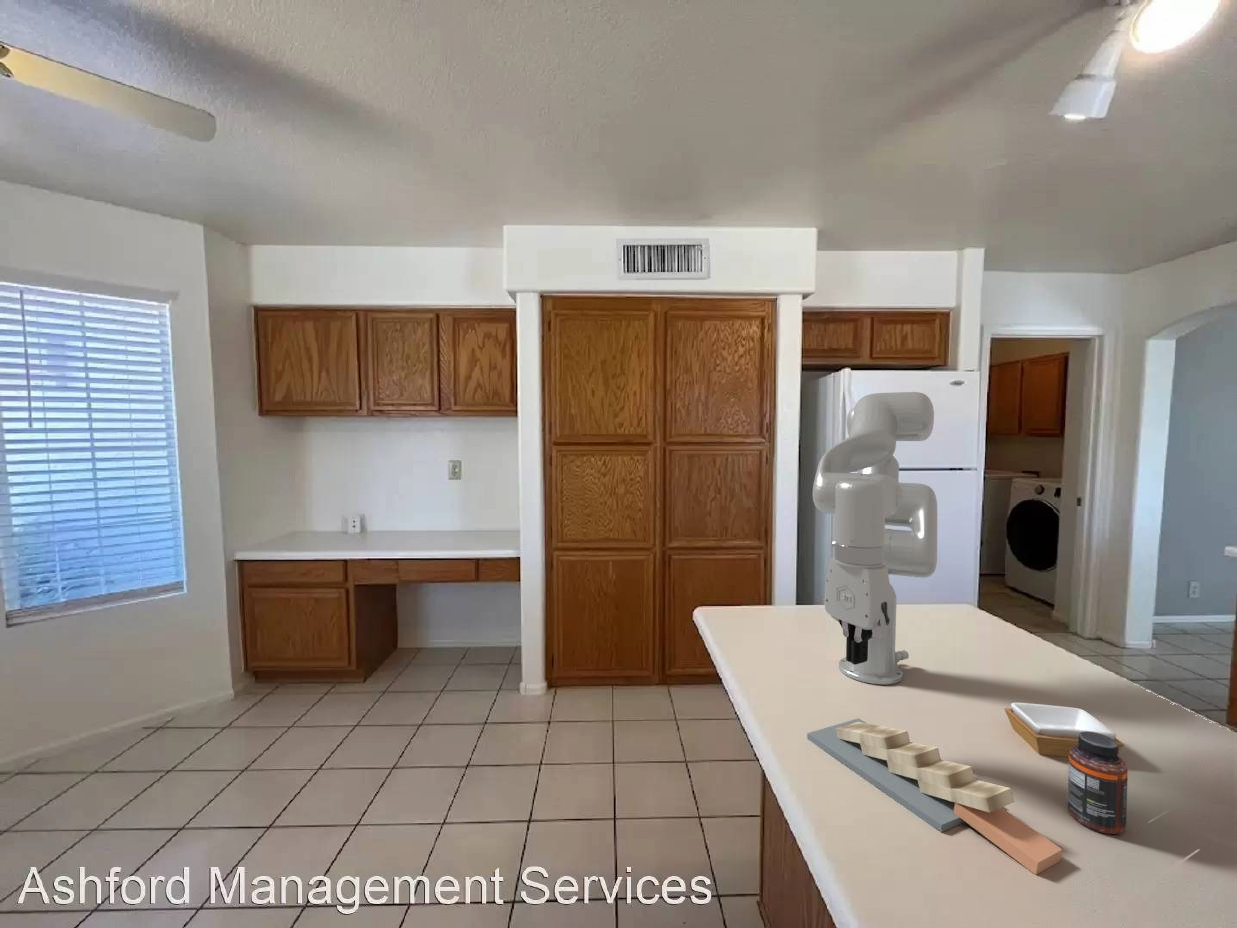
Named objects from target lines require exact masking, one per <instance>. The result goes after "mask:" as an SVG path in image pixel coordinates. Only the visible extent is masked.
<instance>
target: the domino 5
mask: <svg viewBox="0 0 1237 928" xmlns="http://www.w3.org/2000/svg"><path fill="white" fill-rule="evenodd" d="M954 813H955V814H956V815H957V816H959V817H960V818H961V819H963V820H964V821H965V822H964V823H966V824H968V825H969V826H971V828H973V829H974V830H976V831H977V832H979V834H981V835H982V836H984V837H985V838H986V839H987V840H989V841H990V842H991V843H992V844H994V845H996V846H997V847H998V848H1000V849H1001V850H1002V851H1003V852H1005V853H1006V854H1008V855H1009V856H1010V857H1012V858H1013V859H1014V860H1015V861H1016V862H1018V863H1019V864H1021V865H1022V866H1023V867H1025V868H1026V869H1027V870H1028V871H1030V872H1031V873H1033V874H1034V875H1035V876H1037V875H1038V874H1040V873H1041V872H1043V871H1045V870H1048V869H1049V868H1051V867H1052V866H1054V865H1056V864H1058V863H1059V862H1060V861H1061V858H1062V853H1063V849H1062V848H1061V847H1059V846H1058V845H1056V844H1055V843H1053V842H1052V841H1051V840H1049V839H1048V838H1046V837H1045V836H1044V835H1042V834H1040V833H1039V832H1038V831H1037V830H1035V829H1033V828H1032V827H1031V826H1029V825H1028V824H1026V823H1025V822H1023V820H1020V819H1019V818H1018V817H1016V816H1014V815H1013V814H1011V813H1010V812H1009V811H1007V810H1006V809H1004V807H1002V808H1000V809H997V810H995V811H993V812H990V813H989V812H986V811H982V810H979V809H976V808H972V807H969V806H965V805H962V804H959V803H955V806H954Z"/></svg>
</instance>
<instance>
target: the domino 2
mask: <svg viewBox="0 0 1237 928" xmlns="http://www.w3.org/2000/svg"><path fill="white" fill-rule="evenodd" d="M860 745H861V749H862V754H863V755H867V756H871V757H875V758H879V759H883V760H887V761H891V762H895V763H900V764H904V765H908V766H912V767H916V768H919V767H922V766H924V765H927V764H930V763H933V762H935V761H938V760H942V758H941V755H940V750H939V747H937V746H933V745H926V744H922V743H918V742H912V741H910V742H909V743H906V744H903V745H899V746H896V747H893V748H890V749H882V748H878V747H874V746H869V745H865V744H860Z"/></svg>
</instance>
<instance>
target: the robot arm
mask: <svg viewBox="0 0 1237 928" xmlns="http://www.w3.org/2000/svg"><path fill="white" fill-rule="evenodd" d="M934 419H935V410H934V405H933V402H932V400H931V399H930V397H929V396H928V395H927V394H925V393H924V392H919V391H905V392H903V391H901V392H899V391H898V392H875V393H870V394H866V395H864V396H863V397H861V398H860V399H859V400H858V401H857V402H856V404H855V406H854V407H853V408H851V409H850V410H849V411H848V413H847V417H846V427H847V434H848V435H847V436H848V437H847V438H844V439H842V440H840V441H839V442H838V443H836V444H835V445H834V446H833V447H831V448H830V449H828V450H827V451H826V452H825V453H824V454H823V455H822V457H821V458H820V460H819V462H818V465H817V469H816V472H815V477H814V481H813V486H812V501H813V504H814V506H815V508H816V509H817V510H818V511H819V512H821V513H825V514H828V515H829V514H830V515H834V541H832V543H831V546H832V549H834V556H832V557H831V558H830V560H829V563H828V568H827V573H826V581H825V589H824V591H825V592H824V609H825V612H826V613H827V614H828V615H829V616H830V617H831V618H833V620H835V621H837V622H838V623H839V625H840V626H841V629H842V635H843V636H844V638H846V642H845V643H846V645H845V647H846V648H845V649H846V650H845V657H843V658H841V659H840V660H839V661H838V669H839V670H840V672H841V673H842V674H843V675H845V676H847V677H848V678H851V679H853V680H856V681H859V682H862V683H867V684H871V685H880V686H881V685H883V686H886V685H895V684H897V683H900V682H901V681H902V680H903V677H904V673H903V670H902V669H901V668H900V667H899V666H898V663H899V662H901V661H904V660H908V659H909V653H908V651H906V650H905V649H903V650H902V649H901V650H899V651H896V636H897V635H896V634H897V633H896V630H897V594H896V593H897V592H896V590H895V589H894V587H893V586H892V585H891V583H890V578H889V575H893V576H899V577H901V576H902V577H911V578H912V577H913V578H922V579H923V578H928V577H931V576H932V575H933V574H934V573H935V571H936V568H937V563H938V501H937V495H936V493H935V491H934V489H933V488H932V487H931V486H930V485H927V484H924V483H917V482H900V481H899V478H900V477H899V475H900V473H899V471H900V464H899V461H898V460H897V458H896V457H895V456H894V453H895V452H896V448H897V442H923V441H926V440H928V439H929V437H930V436H931V435H932V433H933V430H934V421H935V420H934ZM886 526H889V527H890V526H893V527H903V528H905V527H906V528H909V529H911V530H909V529H908V530H905V529H892V528H886Z"/></svg>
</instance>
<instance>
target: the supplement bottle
mask: <svg viewBox="0 0 1237 928" xmlns="http://www.w3.org/2000/svg"><path fill="white" fill-rule="evenodd" d="M1078 743H1079V744H1078V745H1075V746H1073V747H1072V748H1071V749H1070V751H1069V757H1068V766H1067V767H1068V771H1067V775H1068V776H1067V777H1068V778H1067V781H1068V782H1067V810H1068V813H1069V814H1070V816H1071V817H1072V818H1073V819H1074V820H1075V821H1076V822H1078V823H1079V824H1080V825H1083V826H1084V827H1086V828H1088V829H1091V830H1093V831H1096V832H1098V833H1104V834H1108V835H1109V834H1110V835H1117V834H1118V835H1119V834H1122V833H1124V832H1125V830H1126V829H1127V828H1126V827H1127V807H1128V805H1127V803H1128V781H1129V780H1128V776H1129V775H1128V774H1129V771H1128V766H1127V763H1126V762H1125V761H1124V760H1123V759H1122V758H1121V757H1120V756H1119V751H1118V743H1117V742H1116V741H1115V740H1113V739H1111V738H1110V737H1108V736H1105V735H1103V734H1099V733H1095V732H1088V731H1084V732H1080V733H1079V740H1078Z"/></svg>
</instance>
